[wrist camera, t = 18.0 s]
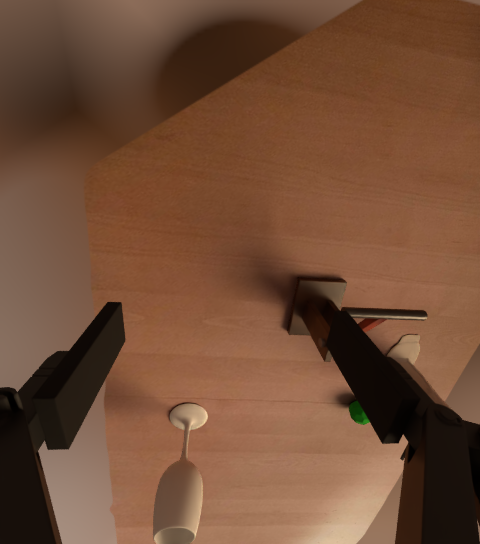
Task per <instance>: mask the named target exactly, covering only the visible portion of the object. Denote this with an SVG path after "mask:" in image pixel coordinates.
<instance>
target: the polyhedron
mask: <svg viewBox="0 0 480 544" xmlns="http://www.w3.org/2000/svg"><path fill="white" fill-rule="evenodd" d="M349 411H350V415H351V418H352V419H353V420H354V421H355V422H356V423H358V424H362V425H364V424H367V423H369V422H370V421H369V420H368V418H367V416H366V414H365V413H364V411H363V409H362V407H361V406H360V404H359V402H358V401H355V402H353V403H351V404H350V407H349Z"/></svg>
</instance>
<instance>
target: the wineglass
mask: <svg viewBox="0 0 480 544" xmlns="http://www.w3.org/2000/svg"><path fill="white" fill-rule="evenodd" d="M207 418H208V415H207V412H206V410H205V409H204V408H203V407H201V406H199V405H196V404H182V405H179V406H177V407H175V408H174V409H173V410H172V411H171V413H170V421H171V423H172V424H173V425H174V426H176V427H177V428H180V429H183V430H185V432H184V443H183V450H182V455H181V458H180V460H179V461H177V462H175V463H173V464H172V465H171V466H169V467H168V468H167V470H166V471H165V472H164V473H163V475H162V477H161V479H160V482H159V485H158V489H157V493H156V498H155V504H154V516H153V539H154V541H155V542H156V543H157V544H190V543H191V542H192V541H193V540H194V539H195V537H196V533H197V529H198V525H199V520H200V514H201V508H202V498H203V483H202V477H201V474H200V472H199V470H198V469H197V467H196V466H195V465H194V464H193V463H191V462H190V461H188V459H187V448H188V439H189V433H190V430H193V429H197V428H199V427H201V426H202V425H204V424H205V422H206V421H207Z"/></svg>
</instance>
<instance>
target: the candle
mask: <svg viewBox="0 0 480 544" xmlns="http://www.w3.org/2000/svg"><path fill="white" fill-rule="evenodd" d="M419 340H420V336H419V335H406V336H404V337H402V339H401V340H400V342H399V343H398V344H397V345H395V346H394V347H393V348H392V349H391V350H390V352H389V353H388V354H387V357H391V358H393V359H394V360H396V361H397V362H398V363H400V364H401V365H402V366H403V368H404V369H405V370H406V371H407V373H409V374H410V375H411V377H412V378H413V380H415V381H416V382H417V383H418V384H419V386H420V387H421V388H422V389H423V390H424V391H425V392H426V393H427V395H428V396H429V397H430V398H431V399H432V400H433V401H434V402H435V403H437V404H441V405H444V406H446V407H448V408H449V409H451V408H450V407H449V406H448V405H447V404H446V403H445V402H444V401H443V400H442V399H441V398H440V397H439V395H438V394H437V393H436V392H435V390H434V389H433V388H432V387H431V385H430V384H429V383H428V381H427V380H426V379H425V377H424V376H423V375H422V374H421V373H420V372H419V371H418V370H417V369H416V367H415V366H414V365H413V364H414V362H415V360H416V358H417V356H418V353H419V351H420V345H419V344H418V342H419ZM451 410H452V409H451Z"/></svg>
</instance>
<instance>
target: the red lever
mask: <svg viewBox="0 0 480 544" xmlns="http://www.w3.org/2000/svg"><path fill="white" fill-rule="evenodd" d="M341 311H347V312H348V313H349V314H350V316H351V317H352V318H366V319H364V320H363V321H361V322H360V323H358V325H359V326H360V328H361V329H362V330H363V331H364V332H367V331H369V330H370V329H372V328H374V327H375V326H377V325H379V324H380V323H382V322H384V321H385V320H387V319H396V320H426V319H427V313H426V311H424V310H405V309H380V308H355V307H342V309H341Z"/></svg>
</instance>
